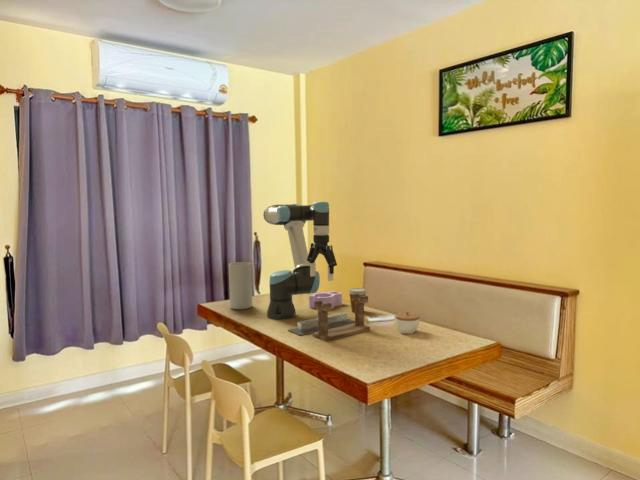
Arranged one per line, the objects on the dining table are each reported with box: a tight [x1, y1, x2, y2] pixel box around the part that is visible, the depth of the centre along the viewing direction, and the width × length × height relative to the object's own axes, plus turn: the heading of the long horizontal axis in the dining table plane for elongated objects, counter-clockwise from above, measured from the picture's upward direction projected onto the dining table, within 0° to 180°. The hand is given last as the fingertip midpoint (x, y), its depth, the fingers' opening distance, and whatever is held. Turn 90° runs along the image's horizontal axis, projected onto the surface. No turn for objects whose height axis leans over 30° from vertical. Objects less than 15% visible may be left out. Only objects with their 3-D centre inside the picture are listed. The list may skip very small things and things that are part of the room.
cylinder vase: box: [228, 261, 253, 310], centre depth 259 cm, size 12×12×25 cm
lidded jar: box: [395, 311, 420, 335], centre depth 209 cm, size 11×11×9 cm
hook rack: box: [312, 293, 371, 342], centre depth 208 cm, size 10×26×16 cm, turn 128°
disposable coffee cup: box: [348, 287, 367, 314], centre depth 246 cm, size 10×10×12 cm
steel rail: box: [296, 311, 348, 332], centre depth 219 cm, size 3×28×4 cm, turn 128°
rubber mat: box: [287, 318, 355, 336], centre depth 219 cm, size 10×34×1 cm, turn 128°
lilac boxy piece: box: [308, 290, 343, 311], centre depth 260 cm, size 20×12×7 cm, turn 131°
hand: (321, 278), depth 219 cm, fingers open, 13 cm apart
